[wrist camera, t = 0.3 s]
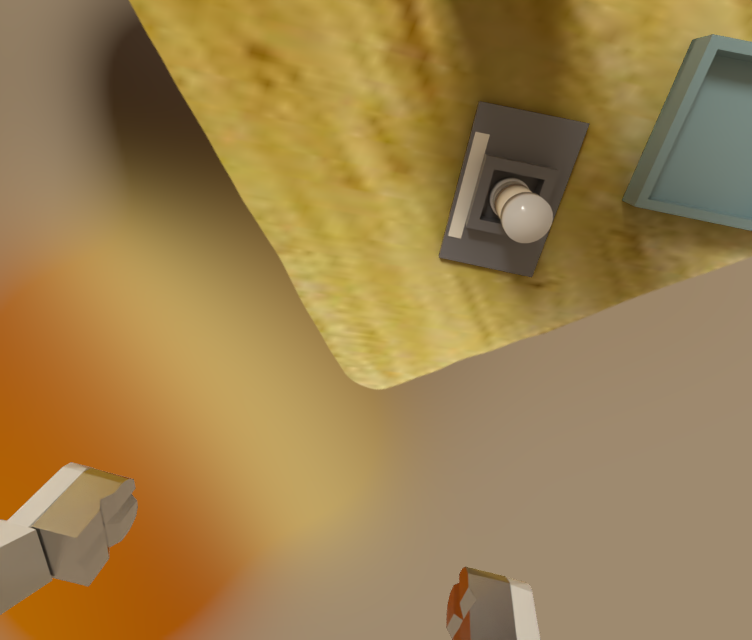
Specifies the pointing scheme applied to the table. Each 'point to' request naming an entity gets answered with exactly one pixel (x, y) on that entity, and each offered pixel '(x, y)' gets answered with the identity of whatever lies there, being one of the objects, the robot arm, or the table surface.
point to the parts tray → (702, 139)
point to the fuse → (520, 210)
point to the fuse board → (508, 159)
